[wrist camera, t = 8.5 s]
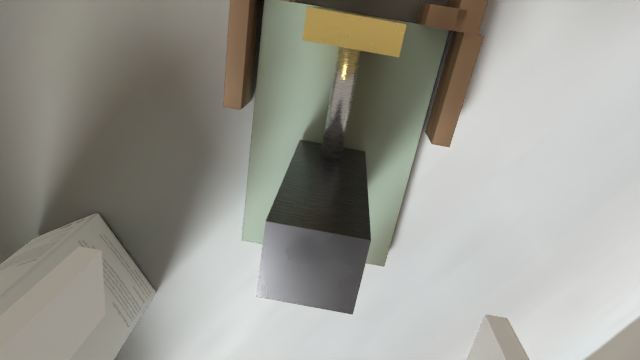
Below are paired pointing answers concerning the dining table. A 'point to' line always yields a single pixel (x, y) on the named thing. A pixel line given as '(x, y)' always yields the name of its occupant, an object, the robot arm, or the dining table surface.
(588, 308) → the dining table surface
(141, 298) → the skincare box
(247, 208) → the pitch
